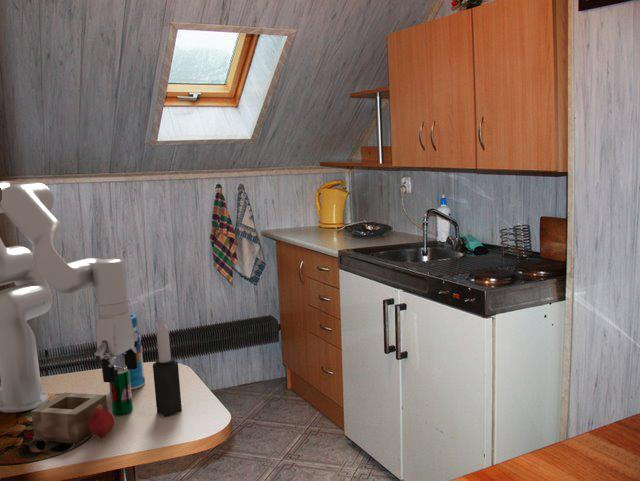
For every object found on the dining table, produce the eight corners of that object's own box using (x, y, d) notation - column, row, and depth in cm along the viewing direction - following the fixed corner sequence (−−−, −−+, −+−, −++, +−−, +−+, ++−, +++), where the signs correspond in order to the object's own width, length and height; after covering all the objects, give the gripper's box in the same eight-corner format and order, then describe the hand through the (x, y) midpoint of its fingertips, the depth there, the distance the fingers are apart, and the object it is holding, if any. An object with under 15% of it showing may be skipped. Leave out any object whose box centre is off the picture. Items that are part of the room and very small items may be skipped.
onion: (100, 445, 150) (97, 411, 149) (83, 440, 153) (80, 407, 152) (120, 435, 155) (117, 402, 153) (104, 431, 158) (100, 398, 157)
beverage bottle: (109, 390, 185) (102, 320, 182) (124, 380, 193) (117, 313, 190) (136, 391, 183) (130, 321, 180) (150, 380, 191) (144, 313, 188)
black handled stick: (155, 412, 167) (146, 316, 164) (172, 406, 171) (163, 311, 167) (166, 417, 164) (158, 319, 160) (183, 410, 167) (175, 314, 164)
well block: (34, 439, 155) (31, 411, 154) (67, 419, 166) (64, 392, 165) (78, 443, 151) (75, 414, 150) (109, 422, 163) (106, 394, 162)
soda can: (127, 417, 165) (122, 370, 164) (108, 416, 166) (104, 370, 165) (136, 409, 170) (132, 364, 169) (118, 408, 171) (114, 363, 170)
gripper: (119, 300, 174) (127, 363, 176) (78, 317, 157) (87, 387, 160) (144, 300, 172) (152, 364, 174) (106, 317, 155) (114, 387, 158)
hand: (121, 375), depth 167 cm, fingers open, 9 cm apart
